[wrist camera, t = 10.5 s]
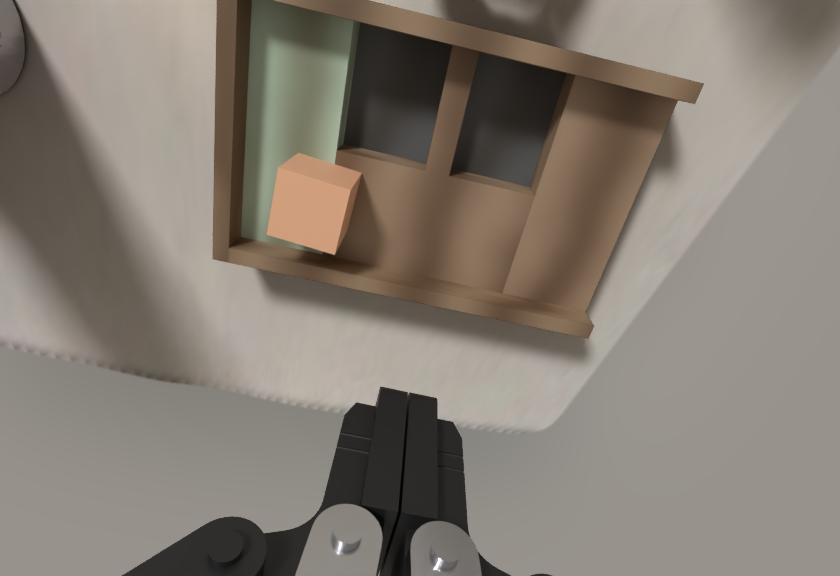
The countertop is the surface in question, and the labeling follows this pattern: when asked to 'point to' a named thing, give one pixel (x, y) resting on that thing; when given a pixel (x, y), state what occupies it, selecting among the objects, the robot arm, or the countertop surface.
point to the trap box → (434, 154)
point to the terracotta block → (313, 202)
